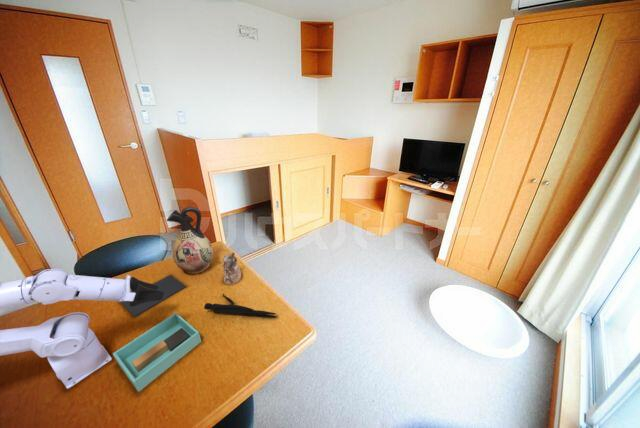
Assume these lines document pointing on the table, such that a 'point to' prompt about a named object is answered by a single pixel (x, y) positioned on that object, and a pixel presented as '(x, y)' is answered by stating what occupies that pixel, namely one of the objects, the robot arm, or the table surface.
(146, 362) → the spatula
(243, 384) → the table surface
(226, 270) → the figurine
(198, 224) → the ceramic jug
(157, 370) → the bin
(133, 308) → the tray
